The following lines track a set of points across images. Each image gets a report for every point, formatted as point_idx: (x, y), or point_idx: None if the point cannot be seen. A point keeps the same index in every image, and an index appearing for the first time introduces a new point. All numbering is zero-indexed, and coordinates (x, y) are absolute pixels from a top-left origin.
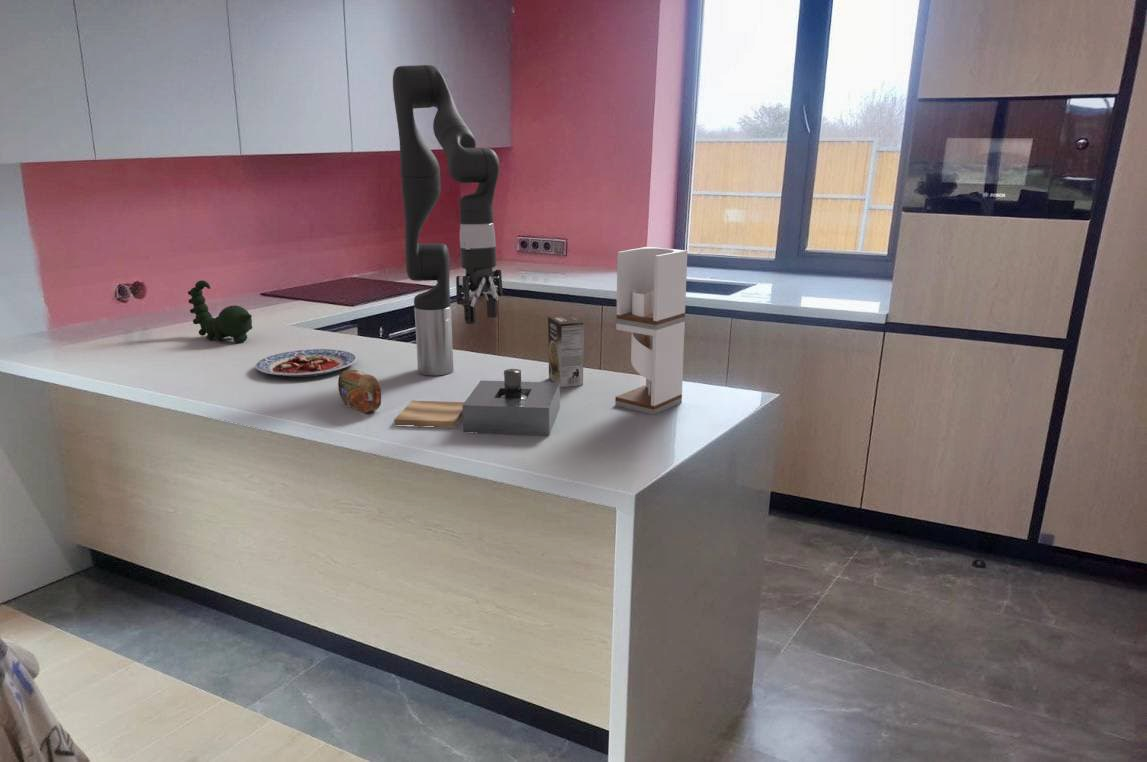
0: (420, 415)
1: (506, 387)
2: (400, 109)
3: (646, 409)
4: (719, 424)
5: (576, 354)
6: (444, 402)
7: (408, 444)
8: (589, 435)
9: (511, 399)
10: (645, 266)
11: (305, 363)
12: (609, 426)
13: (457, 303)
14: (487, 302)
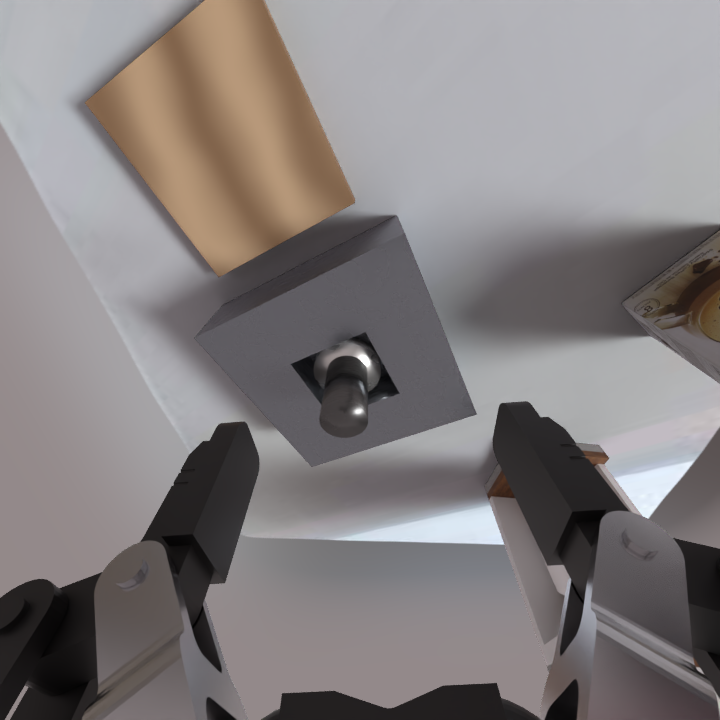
0: (174, 156)
1: (324, 387)
2: None
3: (491, 483)
4: (476, 538)
5: (716, 378)
6: (310, 128)
7: (80, 251)
8: (355, 461)
9: (307, 398)
10: None
11: None
12: (406, 465)
13: (8, 597)
14: (559, 501)
